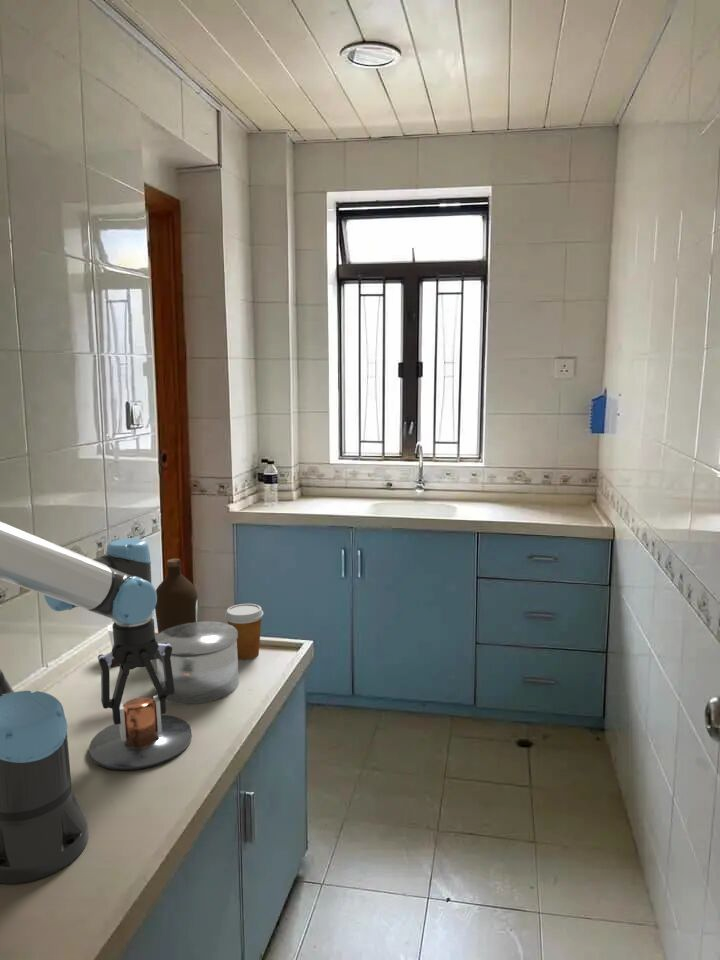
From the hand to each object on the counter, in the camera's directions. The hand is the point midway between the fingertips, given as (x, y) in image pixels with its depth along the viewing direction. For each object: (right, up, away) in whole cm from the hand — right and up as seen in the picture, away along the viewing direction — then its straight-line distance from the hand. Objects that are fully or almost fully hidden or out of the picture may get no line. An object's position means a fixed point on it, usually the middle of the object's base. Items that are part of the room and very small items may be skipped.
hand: (141, 733), depth 138 cm
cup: (-18, +4, +41) cm, 45 cm away
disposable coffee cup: (+14, +5, +42) cm, 45 cm away
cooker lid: (0, -2, 0) cm, 2 cm away
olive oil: (-3, +4, +43) cm, 43 cm away
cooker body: (+1, +2, +23) cm, 23 cm away
